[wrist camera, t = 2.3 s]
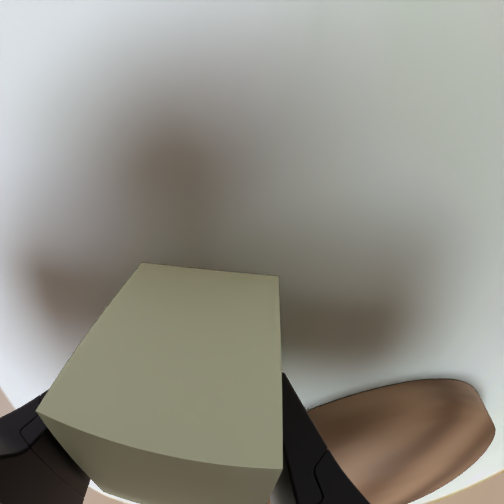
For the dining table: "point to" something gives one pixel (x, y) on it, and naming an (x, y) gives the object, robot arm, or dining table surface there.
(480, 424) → the walnut base
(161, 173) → the dining table surface
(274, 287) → the sage block
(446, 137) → the dining table surface
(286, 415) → the robot arm
